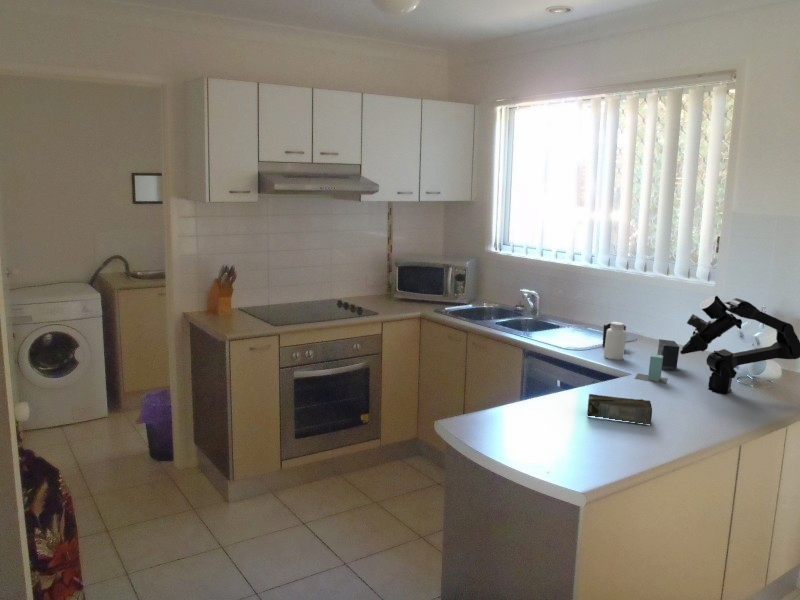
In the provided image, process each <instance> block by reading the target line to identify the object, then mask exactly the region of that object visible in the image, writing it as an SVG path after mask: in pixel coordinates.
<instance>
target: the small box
mask: <svg viewBox="0 0 800 600" xmlns="http://www.w3.org/2000/svg"><path fill="white" fill-rule="evenodd" d="M679 353H680V346H679V345H678V343H676V341H675V340H671V339H670V340H668V339H660V338H659V339H658V346H657V354H656V355H662V356H663V363H662V371H669V372H677V368H678V359H679Z"/></svg>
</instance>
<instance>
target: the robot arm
mask: <svg viewBox="0 0 800 600" xmlns="http://www.w3.org/2000/svg"><path fill="white" fill-rule="evenodd" d="M699 309H701V310H702V312H704V313H705V314H706V315H707V316H708V317H709V318H710V319H711V320H708V321H705V320H704V319H703V318H701V317H699V316H697V315H695V314H693V313H692V314H691V316H690V317H689V319H688V320H687V322H686V323H687V324H688V325H689V326H692V327H693V328H695V329H694V330H693V332H692V335H691V336H690V338H689V340H688V341H687V342H686V343H685V344H684V345H683V346H682V347H681V350H679V353H680V354H681V355H686V354H691V353H695V352H705V351H706V350H707V349H708V348H709V345H710V344H711V343H712V342H713V341H715V340H716V339H717V338H720V337H722V335H723V334H724V333H726V332H728V331H729V330H731V329H732V328H734V327H736V328H738V330H741V329H742V324H743V321H742V319H741V318H743V319H747V320H748V319H749V320H753V321H756V322H758V323H761V324H763V325H765V326H767V327H770V328H772V329H774V330H775V331H776V336H775V337H776V339H775V340H776V342H774V343H773V344H771V345H770V346H766V347H765V346H764V347H759V348H755V349H749V350H744V351H738V352H731V351H729V350H728V349H725V348H724V349H720V350H713V352H711V353H710V354H708V356H707V358H706V365H707V366H708V367H709V372H710V371H711V375H710V376H709V379H708V385H707V386H708V388H707V390H708V391H711V392H715V393H719V394H723V395H728V394H729V393H731V392H732V391H733V389H732V388H731V387H732V382H733V379H735V377H736V375H737V371H736V370H735V368H737V367H738V366H742V365H748V364H752V363H753V364H754V363H758V362H763V361H764V362H765V361H770V360H775V359H780V360H781V359H782V360H798V359H800V339H799V337H798V336H797V334H796V332H795V329H794V326H793V325H792V324H791V323H789V322H786V321H783V320H781V319H779V318H776V317H775V316H772V315H769V314H768V313H765V312H763V311H761V310H760V309H758V308H757V306H755V305H754V304H752V303H751V302H749V301H747V300H744V299H741V298H733V299H732V300H730V301H726V302H723V301H722V300H721V299H720V297H719V296H718V295H716V294H713V295H712V296H710V297H707V298H705V299H704V300H703V301H702V302H701V303H700V305H699ZM736 316H738V317H740V318H737V317H736Z"/></svg>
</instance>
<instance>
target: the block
mask: <svg viewBox="0 0 800 600" xmlns="http://www.w3.org/2000/svg"><path fill="white" fill-rule="evenodd" d="M662 363H663V356H662V355H657V354H655V353H651V355H650V359H649V366H648V367H649V368H648V374H647V375H648V379H649V380H655V381H659V380H660V378H661V377H662V371H663V370H662Z"/></svg>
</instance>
